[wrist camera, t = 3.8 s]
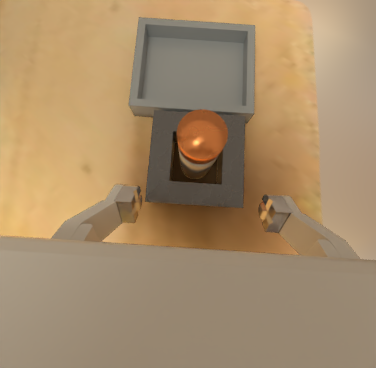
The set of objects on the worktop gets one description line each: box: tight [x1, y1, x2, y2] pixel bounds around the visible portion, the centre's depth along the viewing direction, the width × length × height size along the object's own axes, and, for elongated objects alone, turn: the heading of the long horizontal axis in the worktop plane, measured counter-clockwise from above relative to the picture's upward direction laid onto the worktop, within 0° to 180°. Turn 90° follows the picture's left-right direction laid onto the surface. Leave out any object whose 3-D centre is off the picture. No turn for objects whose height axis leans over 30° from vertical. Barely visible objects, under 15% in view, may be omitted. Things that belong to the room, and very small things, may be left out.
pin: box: [177, 109, 228, 179], centre depth 18 cm, size 4×4×10 cm
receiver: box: [145, 110, 245, 208], centre depth 21 cm, size 11×11×4 cm
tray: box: [129, 17, 255, 123], centre depth 23 cm, size 16×13×2 cm
